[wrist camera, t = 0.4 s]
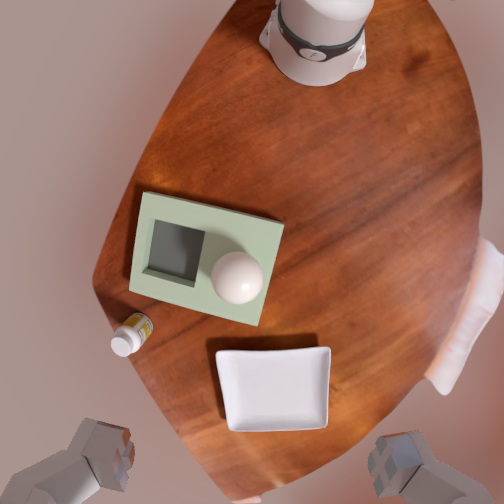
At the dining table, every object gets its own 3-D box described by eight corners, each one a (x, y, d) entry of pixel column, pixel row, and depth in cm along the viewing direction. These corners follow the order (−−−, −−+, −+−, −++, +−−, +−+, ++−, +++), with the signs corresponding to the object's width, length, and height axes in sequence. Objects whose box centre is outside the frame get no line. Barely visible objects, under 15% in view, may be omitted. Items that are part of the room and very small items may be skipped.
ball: (221, 241, 52) (212, 252, 44) (270, 253, 52) (268, 266, 44) (212, 287, 54) (201, 304, 46) (258, 298, 53) (254, 318, 46)
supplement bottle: (124, 324, 60) (102, 345, 51) (137, 306, 59) (115, 327, 50) (144, 341, 61) (125, 365, 51) (158, 324, 60) (139, 348, 50)
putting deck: (149, 191, 54) (143, 192, 51) (283, 222, 53) (284, 225, 50) (135, 285, 58) (129, 290, 55) (258, 319, 57) (257, 326, 55)
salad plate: (230, 422, 64) (228, 432, 61) (216, 342, 60) (213, 351, 56) (326, 418, 62) (327, 429, 59) (328, 337, 58) (331, 345, 54)
